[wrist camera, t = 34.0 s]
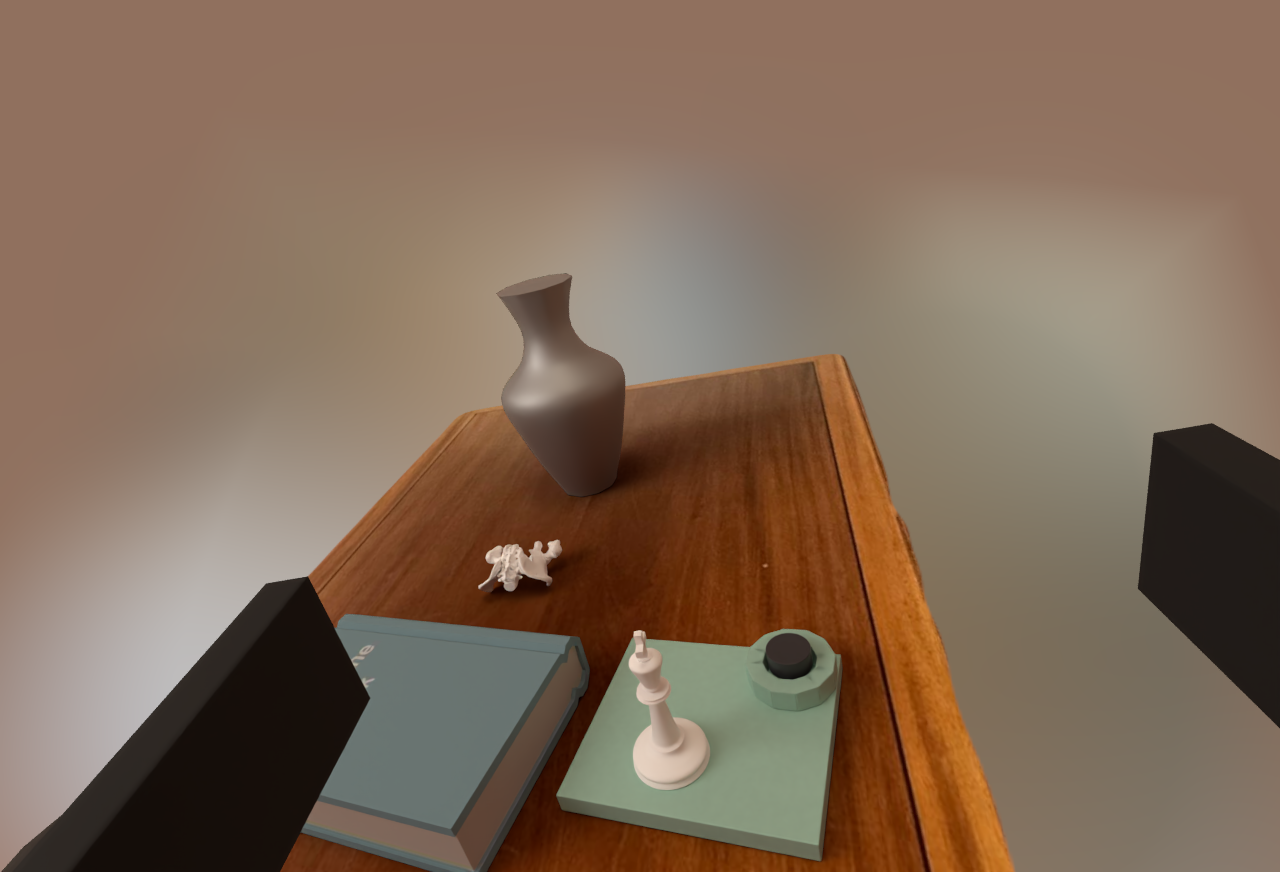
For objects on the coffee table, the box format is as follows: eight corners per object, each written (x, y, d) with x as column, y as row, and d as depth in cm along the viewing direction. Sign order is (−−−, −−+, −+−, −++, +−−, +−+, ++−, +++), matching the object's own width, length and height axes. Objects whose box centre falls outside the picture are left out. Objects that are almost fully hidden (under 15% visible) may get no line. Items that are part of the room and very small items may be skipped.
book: (223, 809, 48) (190, 761, 46) (374, 649, 61) (353, 606, 59) (479, 885, 39) (450, 829, 37) (592, 677, 52) (576, 628, 50)
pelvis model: (560, 524, 67) (542, 559, 61) (570, 561, 68) (553, 599, 62) (487, 532, 69) (461, 567, 63) (497, 568, 70) (473, 605, 64)
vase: (629, 512, 74) (570, 290, 64) (514, 517, 79) (443, 312, 69) (659, 451, 86) (615, 257, 76) (559, 459, 91) (504, 277, 81)
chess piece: (709, 720, 44) (680, 600, 40) (711, 787, 40) (678, 660, 36) (637, 727, 45) (601, 610, 41) (630, 793, 41) (590, 669, 37)
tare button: (815, 649, 46) (813, 634, 46) (810, 682, 44) (807, 666, 43) (772, 645, 47) (769, 631, 47) (764, 677, 45) (761, 662, 44)
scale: (843, 664, 48) (839, 632, 47) (821, 862, 36) (815, 825, 35) (637, 646, 54) (629, 617, 53) (561, 810, 42) (548, 777, 41)
